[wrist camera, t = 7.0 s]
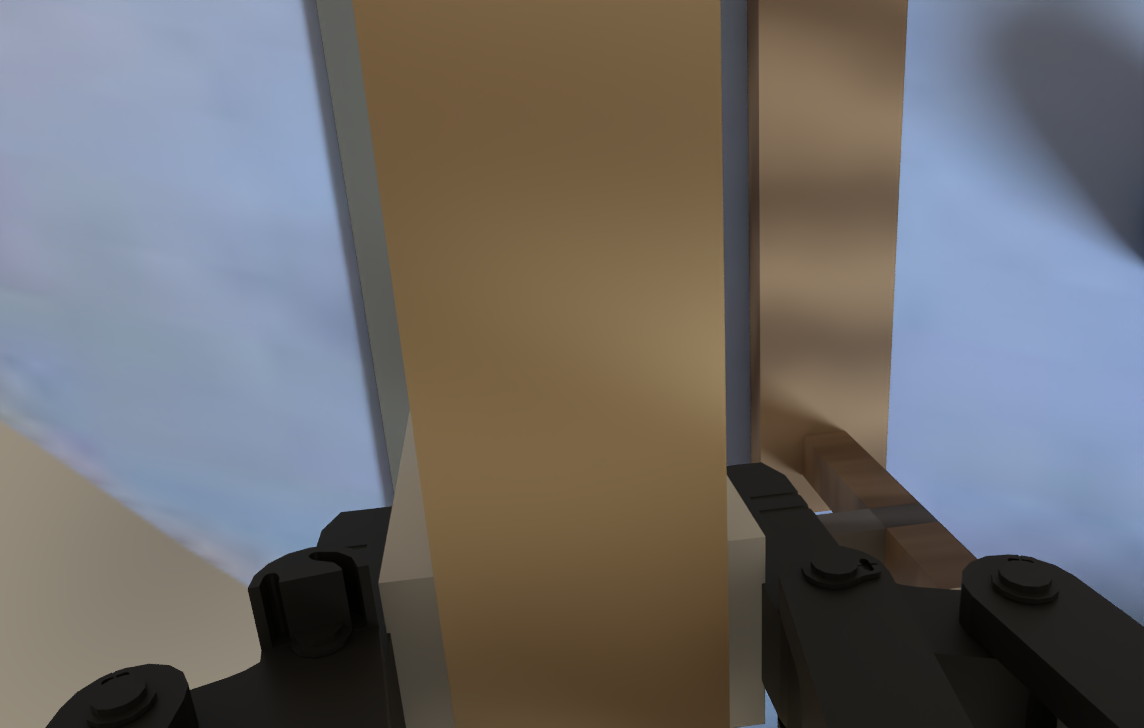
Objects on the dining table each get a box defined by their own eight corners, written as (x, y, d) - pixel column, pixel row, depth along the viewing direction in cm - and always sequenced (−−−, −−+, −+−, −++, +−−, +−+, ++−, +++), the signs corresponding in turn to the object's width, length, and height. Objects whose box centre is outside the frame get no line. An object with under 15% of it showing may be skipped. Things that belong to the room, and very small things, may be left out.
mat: (655, 533, 42) (657, 538, 42) (406, 563, 41) (405, 569, 41) (619, -173, 32) (622, -177, 32) (293, -153, 32) (291, -157, 31)
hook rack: (870, 489, 43) (1047, 676, 30) (678, 512, 42) (772, 714, 29) (897, -160, 34) (1170, -309, 20) (652, -145, 33) (771, -289, 20)
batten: (682, 1119, 18) (738, 1397, 14) (538, 1144, 18) (555, 1435, 14) (603, -716, 9) (703, -1309, 5) (300, -713, 8) (161, -1339, 5)
